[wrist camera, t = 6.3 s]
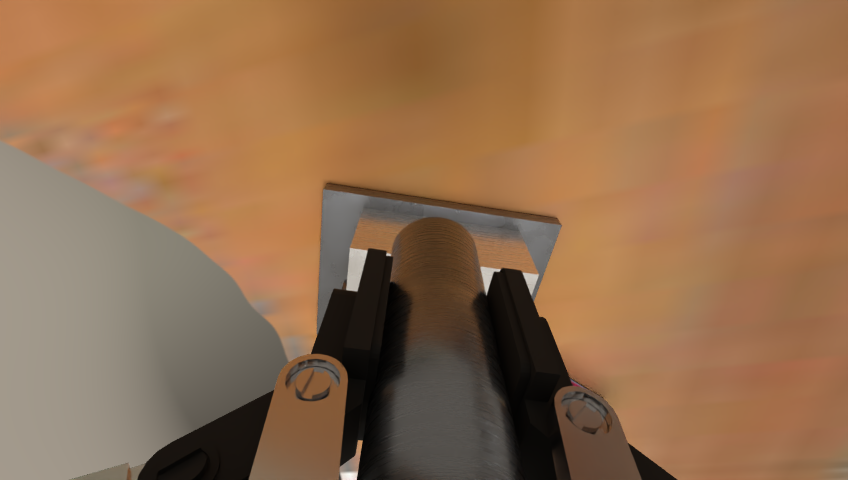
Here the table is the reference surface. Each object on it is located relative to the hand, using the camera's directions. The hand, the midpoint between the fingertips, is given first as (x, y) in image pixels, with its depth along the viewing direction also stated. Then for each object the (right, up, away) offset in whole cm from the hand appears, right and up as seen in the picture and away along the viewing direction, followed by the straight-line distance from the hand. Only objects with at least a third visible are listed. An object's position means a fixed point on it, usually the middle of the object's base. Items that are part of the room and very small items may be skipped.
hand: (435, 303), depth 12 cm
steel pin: (0, +1, +2) cm, 3 cm away
